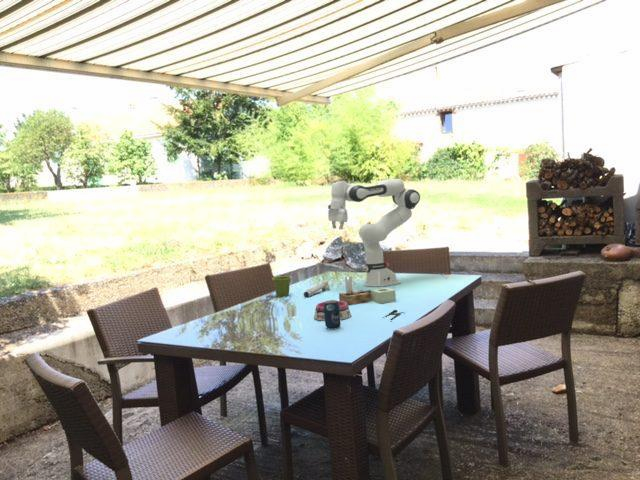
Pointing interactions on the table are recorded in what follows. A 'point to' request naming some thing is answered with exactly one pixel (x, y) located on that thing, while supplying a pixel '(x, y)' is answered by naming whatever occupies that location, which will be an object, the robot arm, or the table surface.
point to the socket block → (355, 297)
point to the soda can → (332, 314)
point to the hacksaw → (394, 314)
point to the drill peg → (348, 286)
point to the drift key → (368, 291)
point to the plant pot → (282, 285)
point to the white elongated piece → (317, 289)
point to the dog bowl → (342, 308)
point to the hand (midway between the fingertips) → (337, 228)
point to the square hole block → (383, 295)
